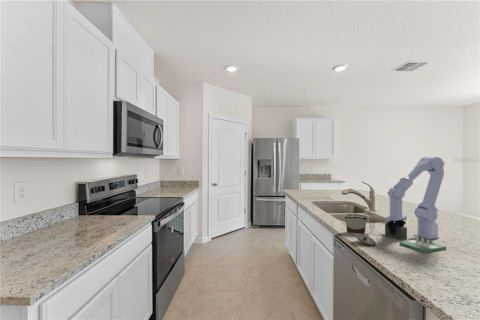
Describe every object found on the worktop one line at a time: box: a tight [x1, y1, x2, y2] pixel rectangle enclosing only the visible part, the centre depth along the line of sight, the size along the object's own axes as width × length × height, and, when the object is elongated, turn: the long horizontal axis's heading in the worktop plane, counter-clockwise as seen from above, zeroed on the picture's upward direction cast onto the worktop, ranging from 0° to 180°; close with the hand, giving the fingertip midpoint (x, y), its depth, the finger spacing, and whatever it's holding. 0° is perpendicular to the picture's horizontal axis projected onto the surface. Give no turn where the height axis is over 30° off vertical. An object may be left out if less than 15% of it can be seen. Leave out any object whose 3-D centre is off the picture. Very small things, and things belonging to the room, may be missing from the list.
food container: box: [344, 213, 369, 235], centre depth 144 cm, size 12×6×10 cm, turn 74°
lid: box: [354, 233, 377, 247], centre depth 125 cm, size 11×10×5 cm
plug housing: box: [382, 222, 408, 240], centre depth 137 cm, size 4×12×6 cm, turn 20°
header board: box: [399, 236, 447, 254], centre depth 120 cm, size 15×12×4 cm
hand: (395, 233), depth 136 cm, fingers closed on plug housing, 4 cm apart
